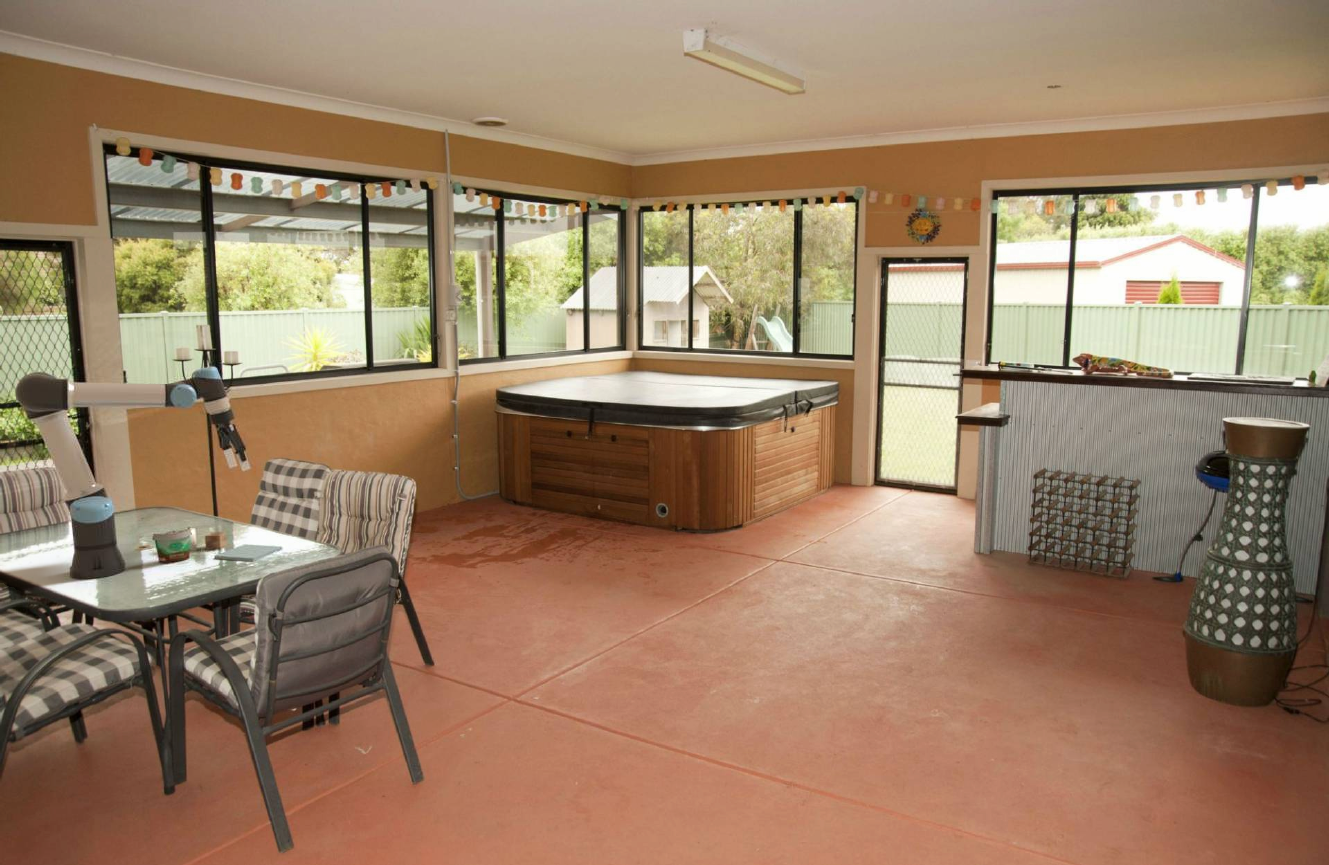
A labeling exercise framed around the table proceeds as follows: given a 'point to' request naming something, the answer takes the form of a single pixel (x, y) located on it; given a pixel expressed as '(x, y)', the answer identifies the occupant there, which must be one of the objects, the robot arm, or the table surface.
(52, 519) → the table surface
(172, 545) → the food container
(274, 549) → the teal board
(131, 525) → the table surface
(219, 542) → the walnut block
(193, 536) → the cream cylinder
